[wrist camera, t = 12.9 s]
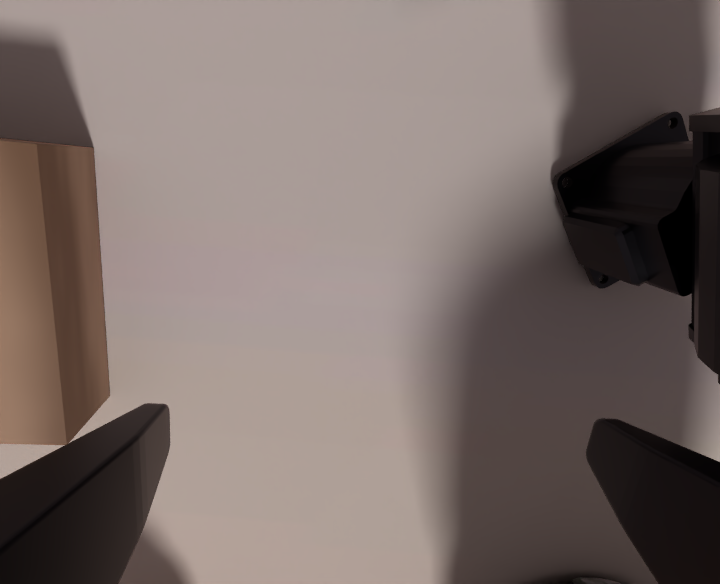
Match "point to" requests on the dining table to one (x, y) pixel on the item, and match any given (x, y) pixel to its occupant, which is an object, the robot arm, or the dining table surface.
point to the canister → (593, 581)
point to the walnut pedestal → (49, 293)
